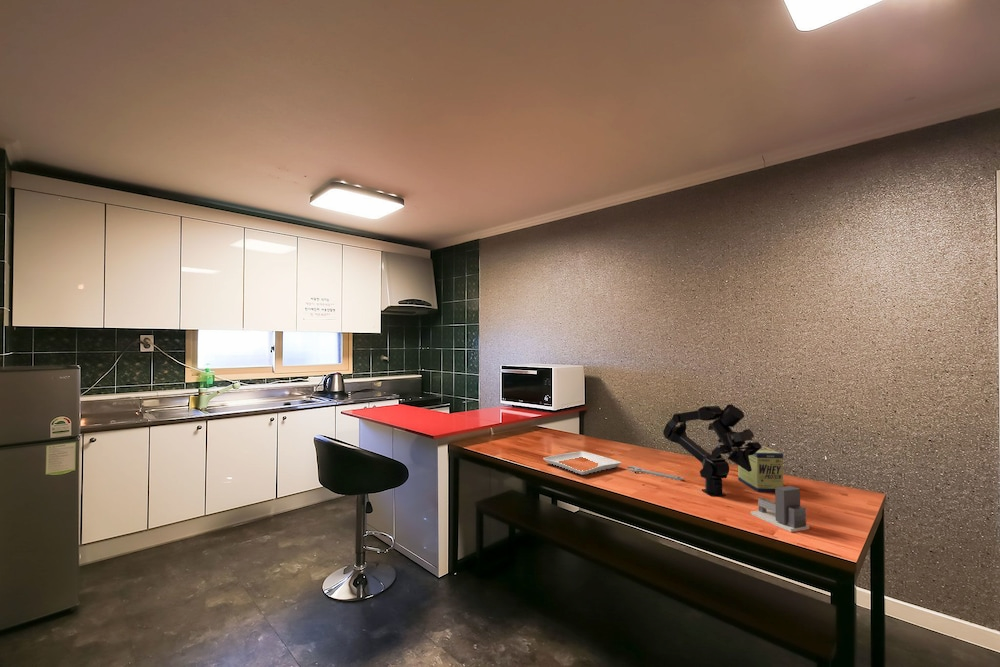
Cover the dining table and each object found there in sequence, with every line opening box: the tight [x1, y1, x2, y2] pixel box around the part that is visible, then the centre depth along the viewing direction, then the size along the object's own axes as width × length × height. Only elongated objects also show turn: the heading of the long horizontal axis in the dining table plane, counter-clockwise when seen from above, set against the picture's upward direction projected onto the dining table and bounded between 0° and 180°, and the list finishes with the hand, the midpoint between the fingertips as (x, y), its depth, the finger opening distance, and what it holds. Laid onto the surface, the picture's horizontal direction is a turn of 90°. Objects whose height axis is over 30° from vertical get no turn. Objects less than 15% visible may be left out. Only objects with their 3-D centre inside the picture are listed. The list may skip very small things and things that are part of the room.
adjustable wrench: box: [627, 465, 684, 482], centre depth 189 cm, size 25×6×2 cm, turn 46°
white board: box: [750, 509, 810, 533], centre depth 140 cm, size 14×8×1 cm, turn 17°
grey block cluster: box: [757, 497, 807, 528], centre depth 140 cm, size 14×5×6 cm, turn 17°
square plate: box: [542, 450, 622, 475], centre depth 202 cm, size 27×27×4 cm
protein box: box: [737, 444, 784, 493], centre depth 176 cm, size 10×16×16 cm
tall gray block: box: [774, 485, 801, 524], centre depth 137 cm, size 3×7×11 cm, turn 107°
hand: (750, 471), depth 150 cm, fingers closed
